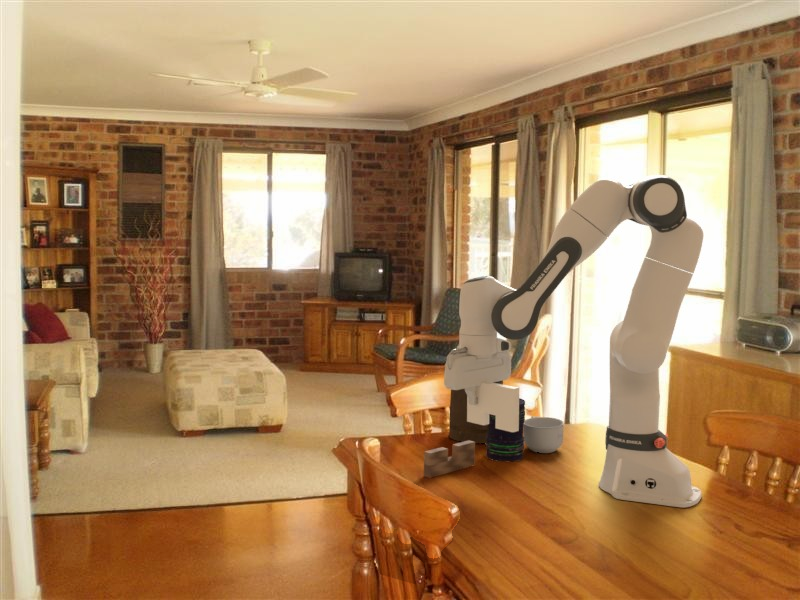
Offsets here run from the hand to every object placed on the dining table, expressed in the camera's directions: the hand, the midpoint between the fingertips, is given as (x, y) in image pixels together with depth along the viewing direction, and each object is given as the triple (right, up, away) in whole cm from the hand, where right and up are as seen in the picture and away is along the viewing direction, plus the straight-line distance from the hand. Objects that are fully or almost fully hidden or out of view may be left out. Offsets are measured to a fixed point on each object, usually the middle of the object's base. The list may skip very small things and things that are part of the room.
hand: (478, 403), depth 194 cm
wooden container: (+3, -15, +39) cm, 42 cm away
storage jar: (+9, -17, +20) cm, 28 cm away
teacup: (+20, -16, +29) cm, 38 cm away
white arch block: (+3, -5, -3) cm, 6 cm away
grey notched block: (-6, -17, +7) cm, 20 cm away
